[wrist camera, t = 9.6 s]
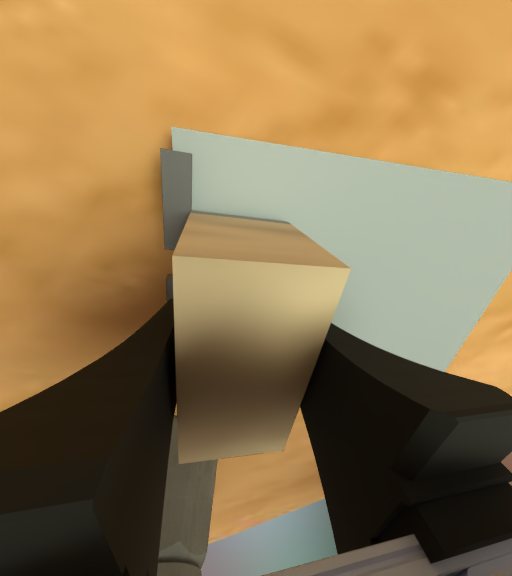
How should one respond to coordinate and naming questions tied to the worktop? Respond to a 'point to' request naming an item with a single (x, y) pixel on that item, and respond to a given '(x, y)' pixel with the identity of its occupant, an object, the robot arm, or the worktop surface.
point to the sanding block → (246, 331)
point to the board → (373, 233)
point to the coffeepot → (185, 513)
